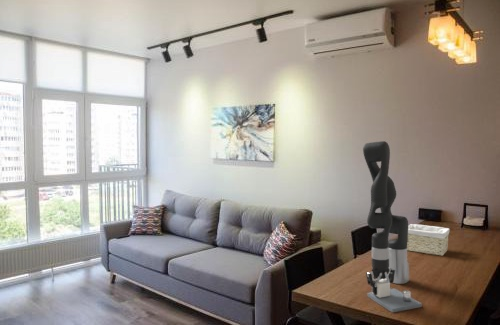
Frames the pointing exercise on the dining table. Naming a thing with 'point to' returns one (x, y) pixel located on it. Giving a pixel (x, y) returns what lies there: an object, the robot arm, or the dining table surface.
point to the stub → (406, 296)
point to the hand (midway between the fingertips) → (380, 293)
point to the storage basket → (427, 239)
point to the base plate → (395, 301)
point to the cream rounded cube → (383, 288)
